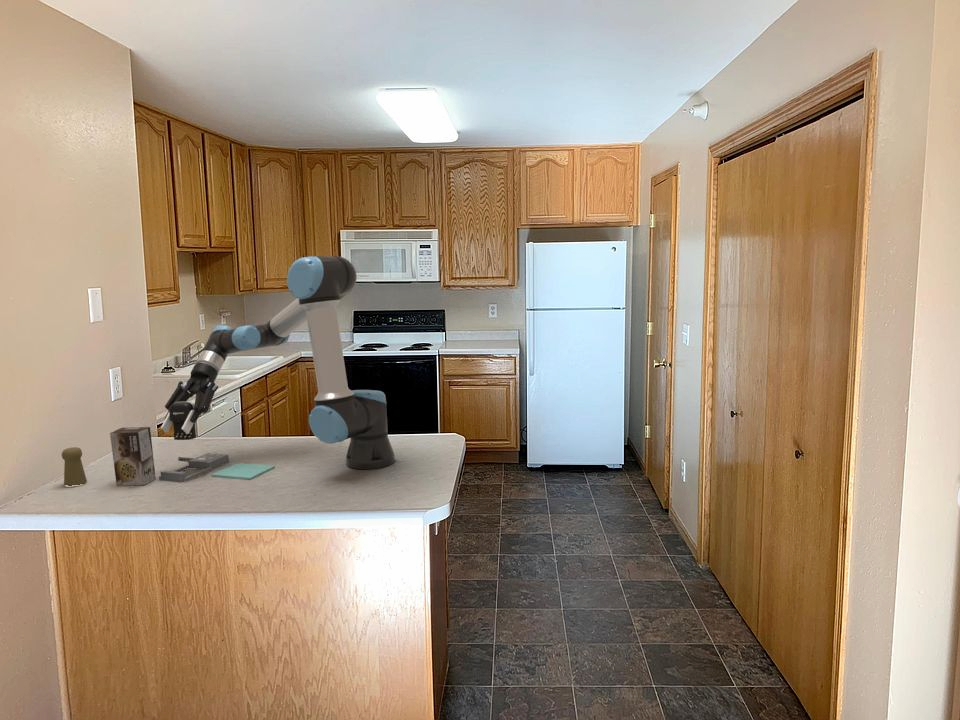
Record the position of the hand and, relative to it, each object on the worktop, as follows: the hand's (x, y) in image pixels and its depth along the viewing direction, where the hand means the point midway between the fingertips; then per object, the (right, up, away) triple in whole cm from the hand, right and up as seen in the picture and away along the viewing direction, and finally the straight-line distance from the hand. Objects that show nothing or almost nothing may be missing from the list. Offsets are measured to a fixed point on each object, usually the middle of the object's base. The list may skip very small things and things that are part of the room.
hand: (174, 430), depth 205 cm
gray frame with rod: (-2, -13, +10) cm, 17 cm away
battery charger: (+1, -3, +4) cm, 5 cm away
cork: (-29, -16, -1) cm, 33 cm away
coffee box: (-11, -15, -1) cm, 19 cm away
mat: (+19, -13, +6) cm, 24 cm away
